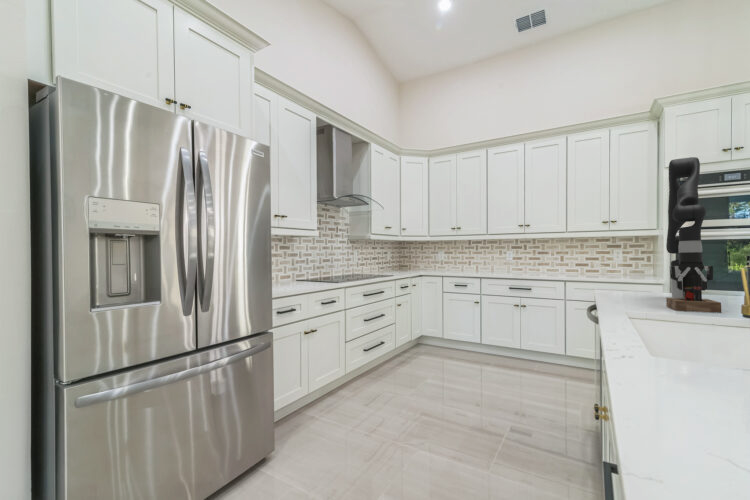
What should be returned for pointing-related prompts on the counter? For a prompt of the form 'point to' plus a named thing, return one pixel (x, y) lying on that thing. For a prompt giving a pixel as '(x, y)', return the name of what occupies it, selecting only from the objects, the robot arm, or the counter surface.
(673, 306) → the socket block
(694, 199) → the robot arm
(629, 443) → the counter surface
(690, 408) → the counter surface
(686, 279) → the deodorant
